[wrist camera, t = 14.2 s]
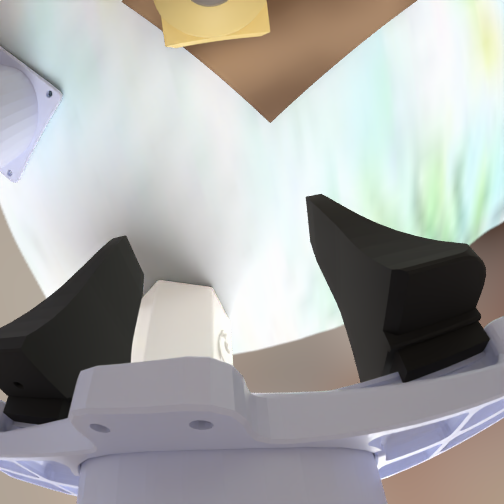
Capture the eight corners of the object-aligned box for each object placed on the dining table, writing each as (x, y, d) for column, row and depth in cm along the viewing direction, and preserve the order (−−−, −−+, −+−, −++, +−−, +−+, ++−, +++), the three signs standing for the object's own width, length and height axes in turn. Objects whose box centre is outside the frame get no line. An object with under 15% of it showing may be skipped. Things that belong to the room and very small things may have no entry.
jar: (240, 334, 31) (251, 450, 21) (164, 352, 31) (156, 460, 21) (205, 264, 25) (202, 401, 16) (118, 290, 26) (86, 414, 16)
